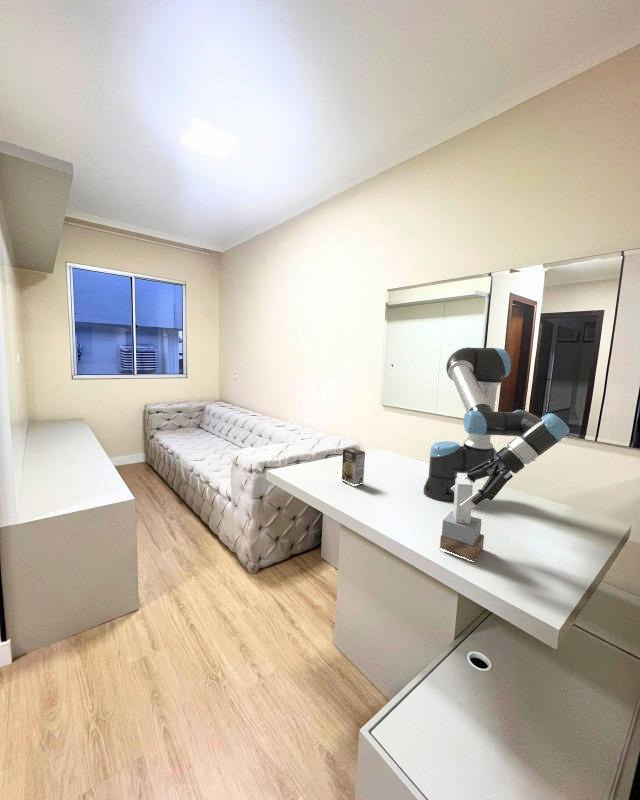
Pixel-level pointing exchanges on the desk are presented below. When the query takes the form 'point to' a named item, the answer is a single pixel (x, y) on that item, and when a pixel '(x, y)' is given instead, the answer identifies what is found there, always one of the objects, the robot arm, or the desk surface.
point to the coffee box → (353, 465)
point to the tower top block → (461, 529)
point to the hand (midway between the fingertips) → (458, 499)
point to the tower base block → (463, 547)
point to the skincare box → (462, 500)
